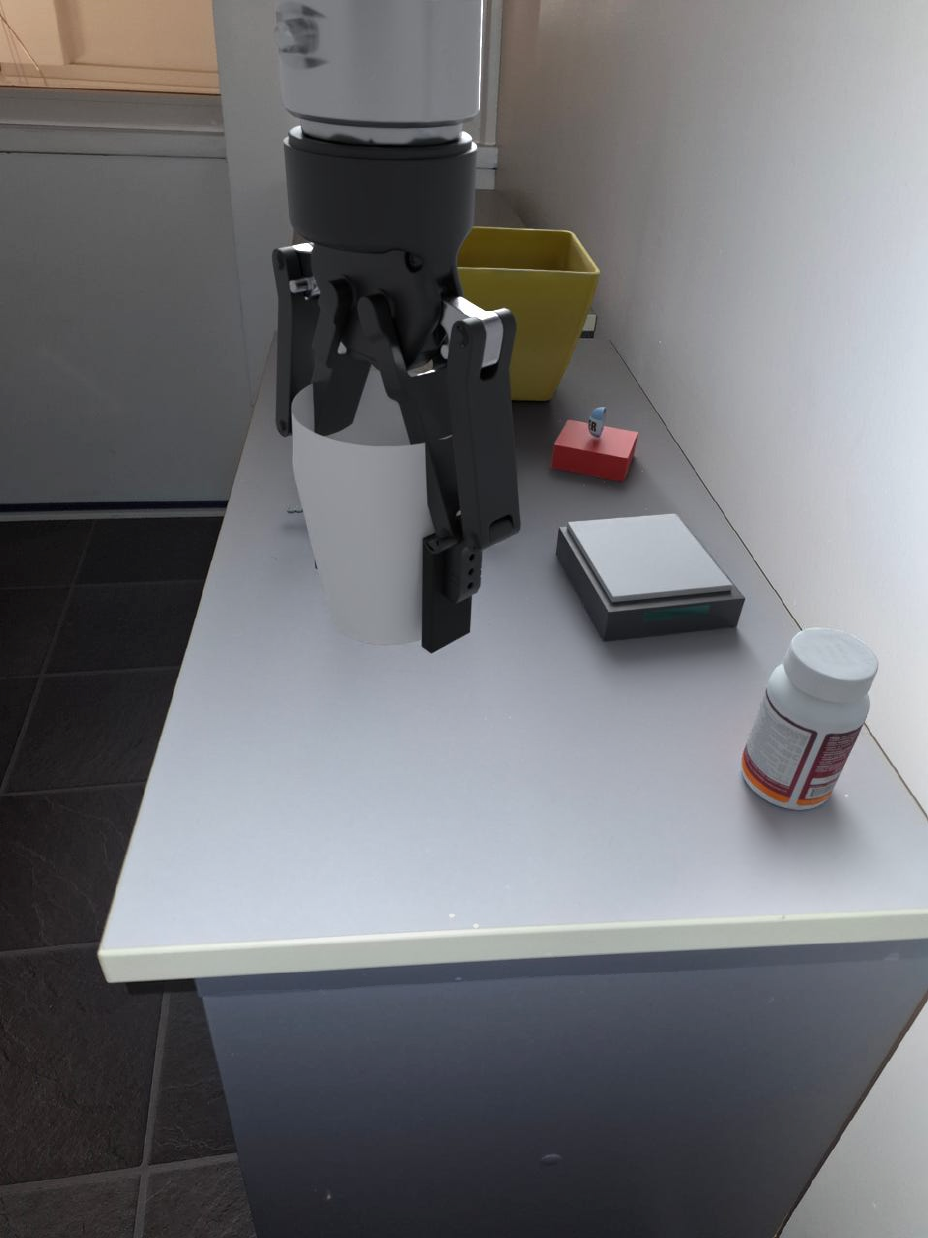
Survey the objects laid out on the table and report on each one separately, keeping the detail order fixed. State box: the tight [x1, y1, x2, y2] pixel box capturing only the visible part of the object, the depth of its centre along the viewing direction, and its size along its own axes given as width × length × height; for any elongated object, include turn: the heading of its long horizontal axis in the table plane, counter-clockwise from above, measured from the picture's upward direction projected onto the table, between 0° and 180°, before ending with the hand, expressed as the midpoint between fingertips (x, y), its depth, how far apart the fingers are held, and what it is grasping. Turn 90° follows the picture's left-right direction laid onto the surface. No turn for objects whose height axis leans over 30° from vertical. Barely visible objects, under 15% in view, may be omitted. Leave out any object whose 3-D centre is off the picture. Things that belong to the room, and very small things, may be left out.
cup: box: [291, 369, 461, 647], centre depth 44 cm, size 9×9×12 cm
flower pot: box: [457, 225, 601, 402], centre depth 107 cm, size 19×19×17 cm
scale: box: [555, 513, 746, 642], centre depth 75 cm, size 13×12×4 cm
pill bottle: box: [740, 626, 879, 811], centre depth 55 cm, size 6×6×11 cm
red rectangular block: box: [550, 406, 639, 483], centre depth 93 cm, size 8×7×6 cm
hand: (389, 598), depth 47 cm, fingers closed on cup, 9 cm apart
